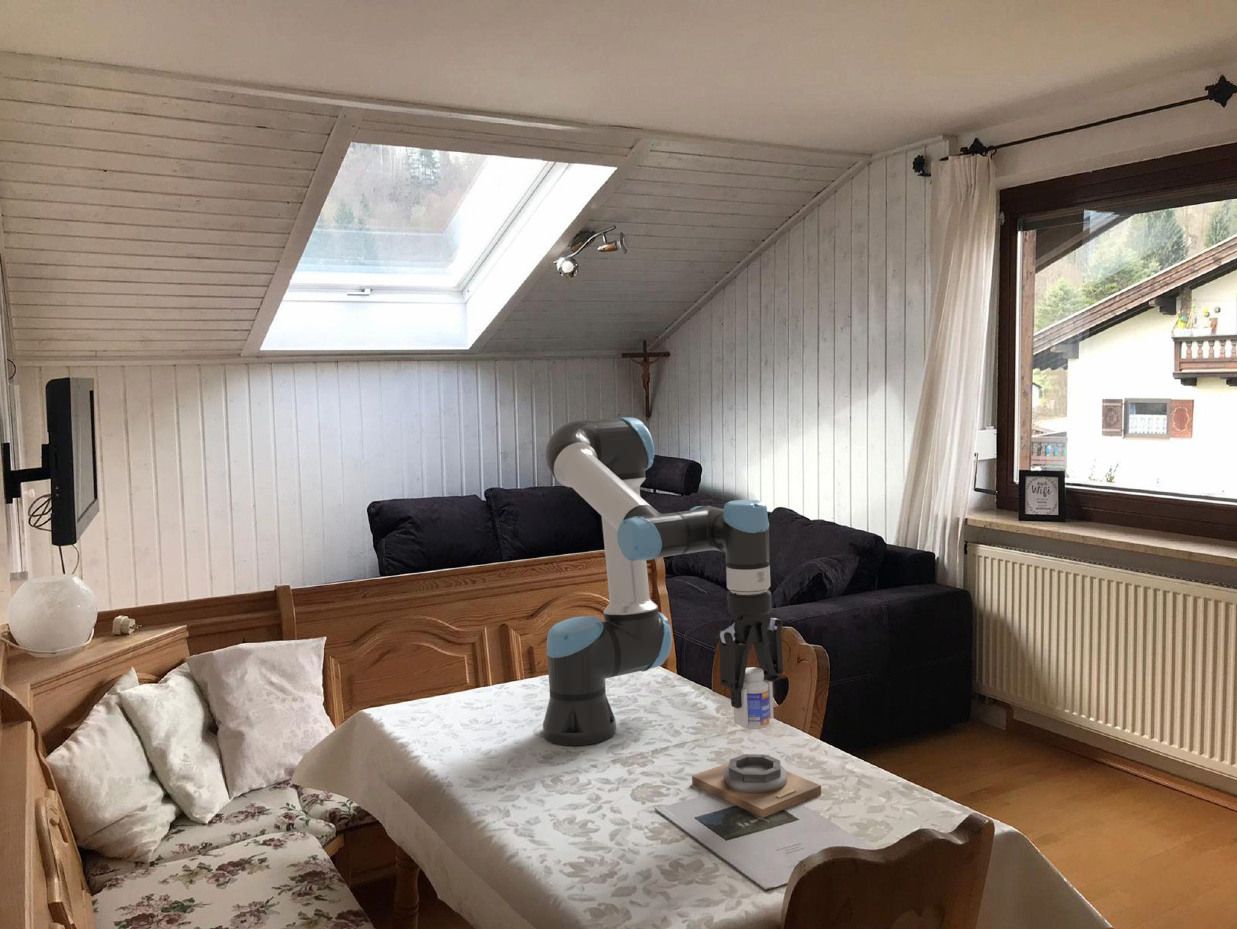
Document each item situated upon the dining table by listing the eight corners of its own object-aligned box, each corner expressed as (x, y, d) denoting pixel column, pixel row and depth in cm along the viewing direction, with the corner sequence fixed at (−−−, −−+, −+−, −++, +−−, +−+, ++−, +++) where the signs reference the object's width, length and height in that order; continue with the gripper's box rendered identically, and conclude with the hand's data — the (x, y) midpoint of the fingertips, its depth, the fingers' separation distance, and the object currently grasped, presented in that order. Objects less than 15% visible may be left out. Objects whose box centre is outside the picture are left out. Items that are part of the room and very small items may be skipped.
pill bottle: (769, 730, 170) (767, 675, 169) (737, 729, 171) (735, 674, 170) (770, 719, 175) (768, 665, 174) (740, 718, 176) (738, 665, 175)
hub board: (692, 783, 178) (691, 759, 177) (749, 763, 186) (748, 739, 185) (762, 818, 163) (761, 791, 163) (821, 793, 171) (820, 768, 171)
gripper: (723, 602, 163) (729, 739, 165) (802, 584, 173) (806, 713, 175) (694, 595, 169) (700, 727, 171) (771, 578, 179) (776, 703, 181)
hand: (754, 720), depth 173 cm, fingers closed on pill bottle, 5 cm apart
